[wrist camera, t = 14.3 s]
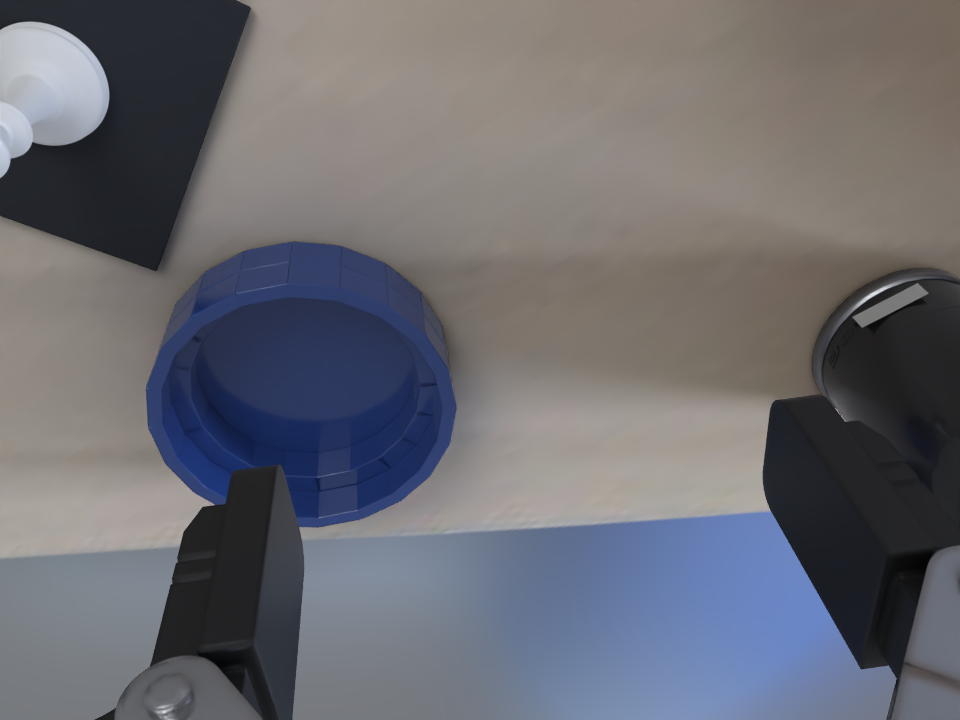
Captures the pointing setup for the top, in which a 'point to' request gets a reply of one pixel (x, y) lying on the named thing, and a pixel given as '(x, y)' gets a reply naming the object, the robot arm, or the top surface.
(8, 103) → the chess piece
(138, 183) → the mat
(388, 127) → the top surface
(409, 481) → the bowl
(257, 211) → the top surface
